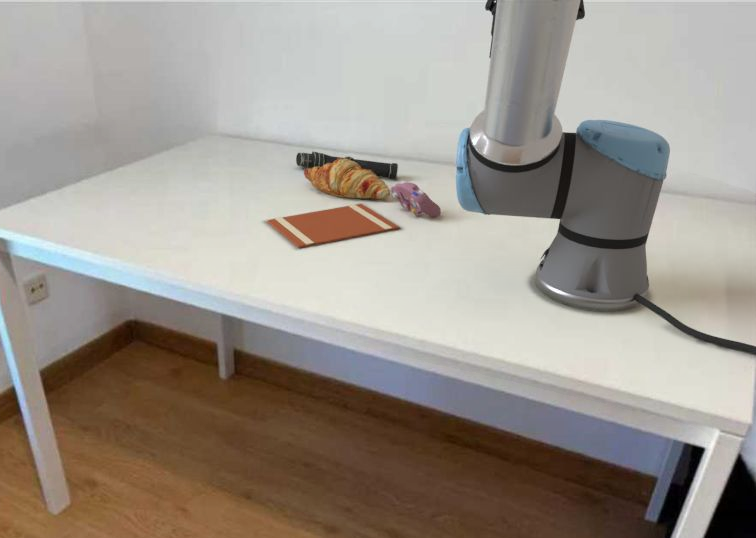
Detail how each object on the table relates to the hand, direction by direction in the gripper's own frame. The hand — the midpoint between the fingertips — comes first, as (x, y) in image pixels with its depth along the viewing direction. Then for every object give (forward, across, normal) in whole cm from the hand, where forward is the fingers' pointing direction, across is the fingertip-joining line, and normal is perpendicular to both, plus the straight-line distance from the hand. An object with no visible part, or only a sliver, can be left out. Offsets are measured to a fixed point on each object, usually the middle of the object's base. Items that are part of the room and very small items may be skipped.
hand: (523, 63), depth 114 cm
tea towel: (+27, +10, +30) cm, 41 cm away
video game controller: (+27, +9, +13) cm, 31 cm away
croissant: (+27, +26, +19) cm, 42 cm away
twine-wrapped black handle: (+27, +37, +13) cm, 48 cm away
